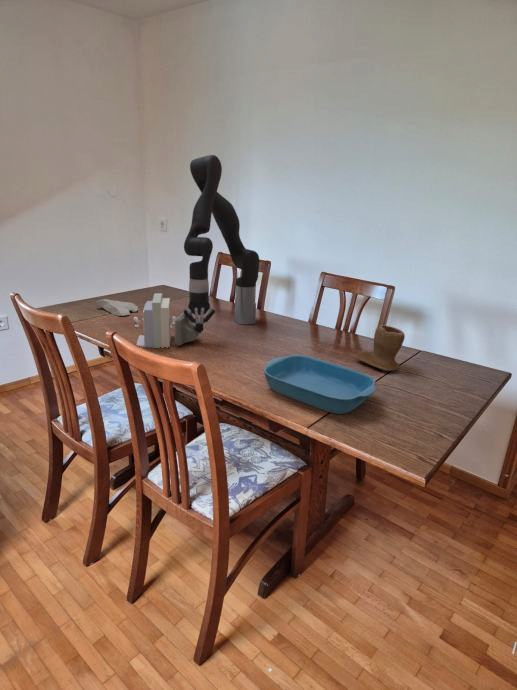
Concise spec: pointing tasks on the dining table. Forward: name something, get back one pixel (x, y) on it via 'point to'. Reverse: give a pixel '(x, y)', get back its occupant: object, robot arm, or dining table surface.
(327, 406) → the casserole dish
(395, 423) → the dining table surface
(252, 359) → the dining table surface
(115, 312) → the rock
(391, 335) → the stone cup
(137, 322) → the game piece set
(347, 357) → the dining table surface
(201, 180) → the robot arm
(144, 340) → the book row
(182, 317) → the digital clock
